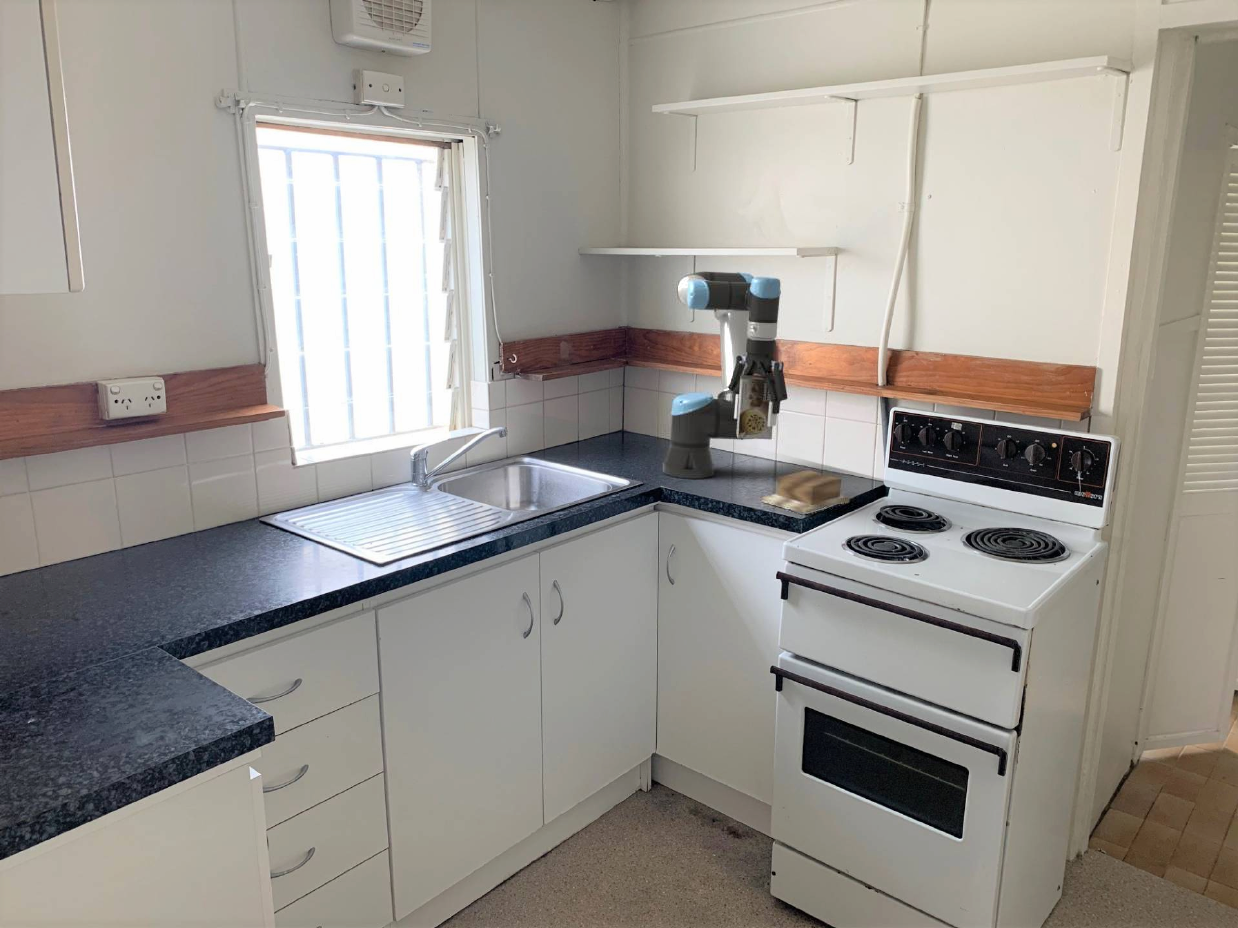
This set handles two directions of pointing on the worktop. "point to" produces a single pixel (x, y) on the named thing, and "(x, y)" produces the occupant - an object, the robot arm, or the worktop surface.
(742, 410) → the cookie box
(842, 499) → the board
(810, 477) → the base block
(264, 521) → the worktop surface
